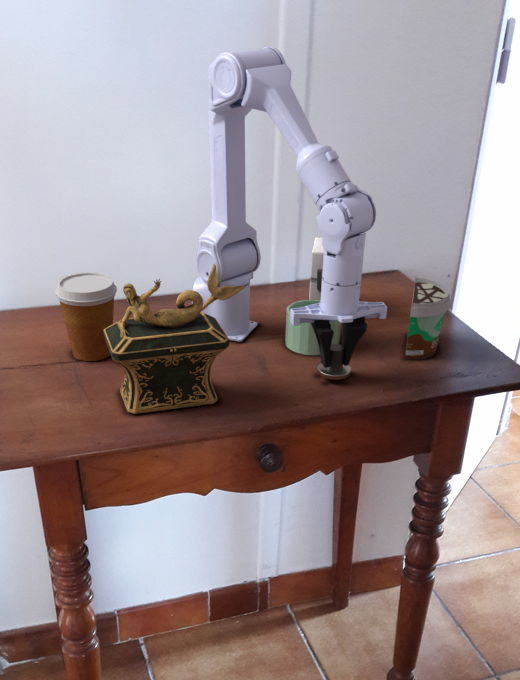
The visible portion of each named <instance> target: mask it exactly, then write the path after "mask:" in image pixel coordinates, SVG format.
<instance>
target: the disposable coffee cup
mask: <svg viewBox="0 0 520 680" xmlns="http://www.w3.org/2000/svg"><path fill="white" fill-rule="evenodd" d="M117 291H118V288H117V286H116V285H115V283H114V280H113V278H112V277H111V276H110V275H107V274H105V273H100V272H93V271H91V272H89V271H87V272H85V271H84V272H77V273H75V272H74V273H71V274H68V275H65V276H63V277H61V278H60V279H58V281H57V284H56V288H55V291H54V293H55V296H56V297H57V299H58V301H59V305H60V308H61V313H62V316H63V319H64V324H65V329H66V333H67V336H68V341H69V344H70V348H71V353H72V355H73V358H75V359H77V360H80V361H84V362H96V361H97V362H98V361H102V360H105V359H106V358H109V357H110V356H111V354H110V351H109V349H108V346H107V343H106V341H105V338H104V334H103V330H104V329H105V328H107V327H109V326H111V325H112V324H114V312H115V311H114V310H115V297H116V293H117Z"/></svg>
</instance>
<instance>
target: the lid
mask: <svg viewBox="0 0 520 680" xmlns="http://www.w3.org/2000/svg"><path fill="white" fill-rule="evenodd" d="M344 349H345V348H344V346H342V344H340V343H339V344H331V348H330V364H329V367H327V368H325V367H324V366H323V365H322V363H321V362H320V363H319V364H318V366H317V374H318V375H319V376H320V377H322V378H323V379H327V380H333V381H334V380H335V381H336V380H337V381H338V380H344V379H347V378H349V377H350V375H351V374H352V367H351V366H350V364H349V365H348V366H344V364H343V361H344Z"/></svg>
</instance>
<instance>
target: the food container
mask: <svg viewBox="0 0 520 680" xmlns="http://www.w3.org/2000/svg"><path fill="white" fill-rule="evenodd" d="M450 308H451V295H450V292H449V290H448V288H447V287H446V286H445V285H443V284H441V283H439V282H437V281H434V280H431V279H427V278H422V277H414V284H413V289H412V299H411V306H410V314H409V315H410V316H409V321H408V329H407V337H406V345H405V352H404V353H405V354H404V360H423V359H427V358H430V357H432V356H433V355H435V354H436V352H437V348H438V344H439V339H440V335H441V331H442V327H443V322H444V318H445V313H446V312H447V311H449V310H450Z"/></svg>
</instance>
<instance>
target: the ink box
mask: <svg viewBox="0 0 520 680" xmlns="http://www.w3.org/2000/svg"><path fill="white" fill-rule="evenodd" d="M323 257H324V249H323V246H322V236H321V237H318V236H315V238H314V242H313V246H312V250H311V262H310V273H309V274H310V277H309V290H308V291H309V292H308V300H321V285H322V271H323Z"/></svg>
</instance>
